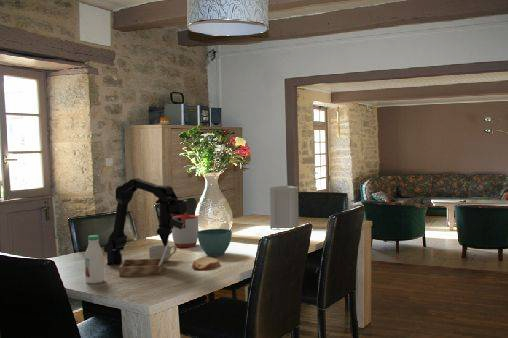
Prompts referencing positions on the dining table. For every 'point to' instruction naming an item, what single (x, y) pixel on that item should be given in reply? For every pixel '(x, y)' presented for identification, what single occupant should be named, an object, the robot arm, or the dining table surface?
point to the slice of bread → (205, 263)
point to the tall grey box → (284, 207)
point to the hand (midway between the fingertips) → (165, 246)
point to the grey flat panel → (164, 252)
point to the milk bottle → (94, 261)
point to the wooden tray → (141, 267)
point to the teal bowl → (214, 241)
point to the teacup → (161, 252)
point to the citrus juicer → (186, 231)
